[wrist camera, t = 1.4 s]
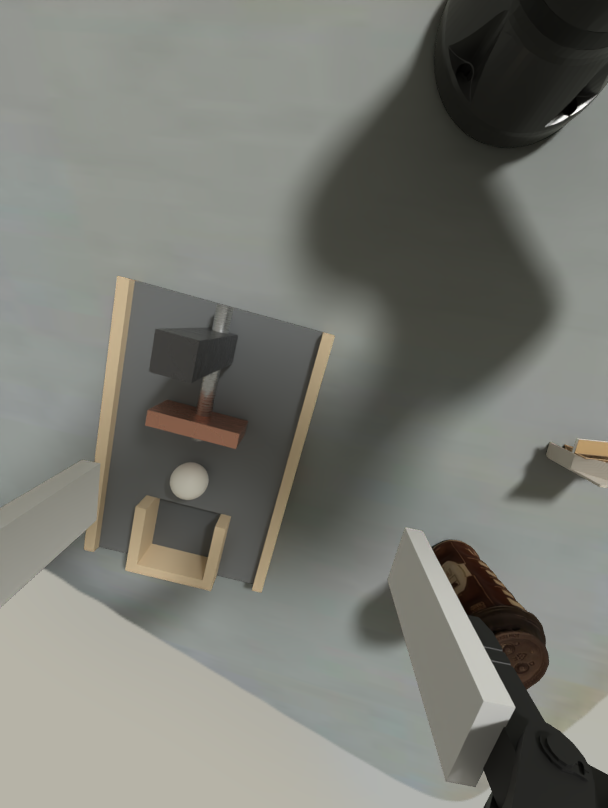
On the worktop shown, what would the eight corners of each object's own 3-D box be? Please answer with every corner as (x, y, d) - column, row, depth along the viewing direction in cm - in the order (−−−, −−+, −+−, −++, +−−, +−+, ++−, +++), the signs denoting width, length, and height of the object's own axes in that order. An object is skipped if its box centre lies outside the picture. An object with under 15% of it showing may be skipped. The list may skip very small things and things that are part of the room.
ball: (181, 452, 37) (166, 467, 33) (216, 461, 37) (205, 477, 33) (175, 483, 38) (160, 501, 34) (209, 492, 38) (197, 511, 34)
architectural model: (551, 428, 37) (609, 453, 30) (611, 434, 37) (683, 460, 30) (543, 456, 38) (597, 486, 31) (601, 462, 38) (669, 494, 31)
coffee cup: (411, 586, 42) (453, 697, 30) (418, 530, 40) (466, 623, 28) (478, 589, 42) (550, 702, 30) (489, 533, 40) (570, 628, 28)
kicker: (185, 294, 33) (115, 277, 21) (272, 318, 33) (251, 315, 21) (163, 423, 36) (92, 470, 24) (242, 444, 36) (210, 500, 25)
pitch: (131, 279, 34) (108, 273, 30) (333, 335, 35) (335, 336, 31) (97, 536, 42) (74, 558, 38) (264, 577, 43) (259, 602, 39)
